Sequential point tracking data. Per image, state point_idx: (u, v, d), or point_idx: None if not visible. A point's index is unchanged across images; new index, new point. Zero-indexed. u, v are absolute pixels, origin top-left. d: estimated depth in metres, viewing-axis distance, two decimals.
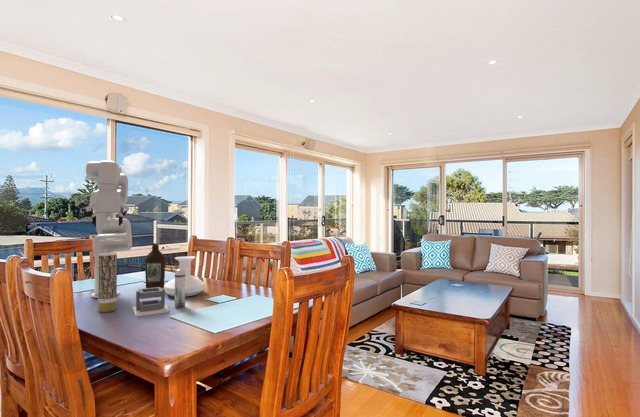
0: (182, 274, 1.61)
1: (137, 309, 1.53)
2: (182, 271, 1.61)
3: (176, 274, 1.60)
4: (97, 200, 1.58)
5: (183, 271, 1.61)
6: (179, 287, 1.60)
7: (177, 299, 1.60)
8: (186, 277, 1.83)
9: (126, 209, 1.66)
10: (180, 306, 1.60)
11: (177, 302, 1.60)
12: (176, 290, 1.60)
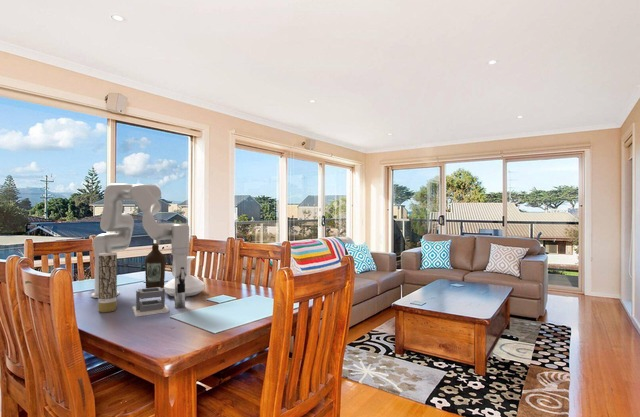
0: None
1: (137, 309, 1.53)
2: None
3: None
4: None
5: None
6: None
7: (177, 299, 1.60)
8: (186, 277, 1.83)
9: None
10: (180, 306, 1.60)
11: (177, 302, 1.60)
12: (176, 290, 1.60)
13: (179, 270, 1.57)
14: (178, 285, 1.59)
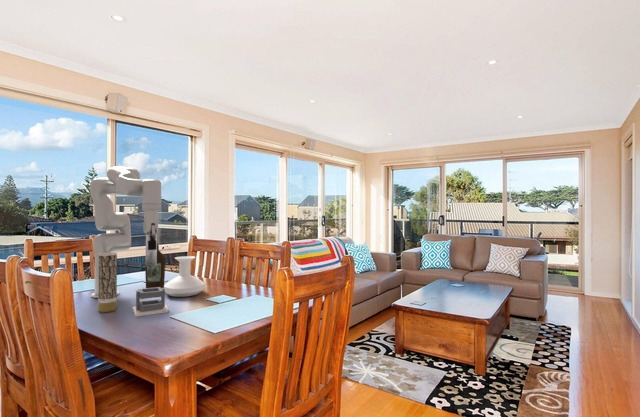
0: None
1: (137, 309, 1.53)
2: None
3: None
4: None
5: None
6: None
7: (148, 257, 1.54)
8: (186, 277, 1.83)
9: None
10: (151, 264, 1.55)
11: (148, 260, 1.54)
12: (147, 247, 1.55)
13: (149, 226, 1.52)
14: (149, 242, 1.54)
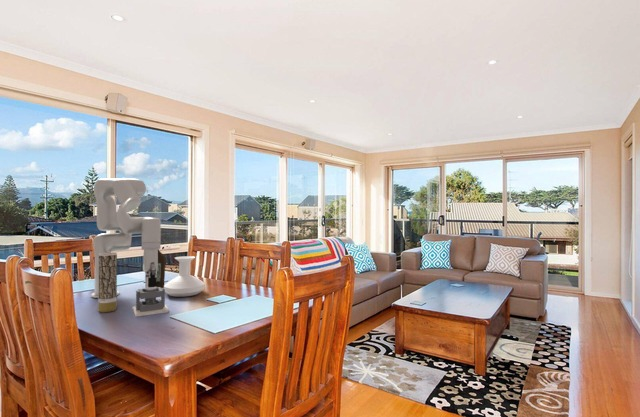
0: None
1: (137, 309, 1.53)
2: None
3: (147, 274, 1.55)
4: (157, 259, 1.54)
5: None
6: (149, 288, 1.54)
7: (147, 300, 1.54)
8: (186, 277, 1.83)
9: None
10: None
11: (147, 303, 1.54)
12: (146, 290, 1.55)
13: (149, 265, 1.52)
14: (149, 279, 1.52)
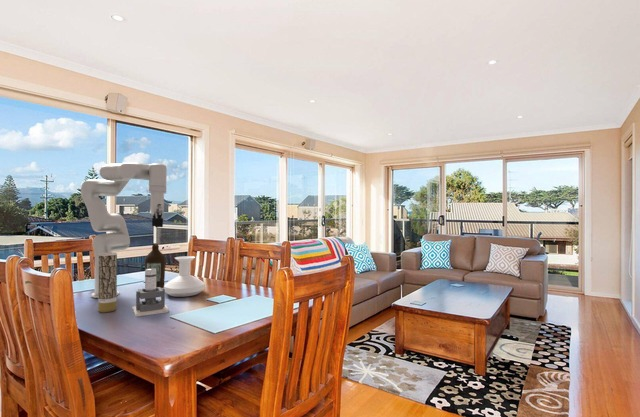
0: (152, 274, 1.55)
1: (137, 309, 1.53)
2: (152, 271, 1.55)
3: (146, 274, 1.55)
4: (163, 202, 1.66)
5: (154, 271, 1.56)
6: (149, 287, 1.55)
7: (147, 300, 1.54)
8: (186, 277, 1.83)
9: None
10: None
11: (147, 303, 1.54)
12: (146, 290, 1.55)
13: (156, 206, 1.63)
14: (156, 219, 1.63)
